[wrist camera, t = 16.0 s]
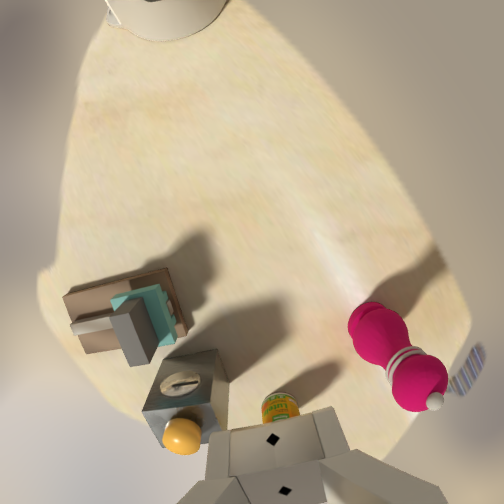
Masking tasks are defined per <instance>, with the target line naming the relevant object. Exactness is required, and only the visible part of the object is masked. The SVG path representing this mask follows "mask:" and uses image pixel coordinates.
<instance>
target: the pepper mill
mask: <svg viewBox="0 0 504 504" xmlns="http://www.w3.org/2000/svg"><path fill="white" fill-rule="evenodd" d="M348 332H349V334H350V336H351V337H352V339H353V345H354V348H355V350H356V351H357V353H358V354H359V355H360V356H361V357H362V358H363V359H364V360H366V361H368V362H369V363H372V364H375V365H380V366H382V367H383V368H384V369H385V370H386V378H387V380H388V382H389V383H390V385H391V386H392V394H393V396H394V399H395V400H396V402H397V403H398V404H399V405H400V406H401V407H402V408H403V409H406V410H408V411H412V412H420V411H425V410H427V409H430V410H433V411H434V410H438V409H439V408H441V407H442V405H443V403H444V398H443V395H444V393H445V391H446V389H447V385H448V373H447V370H446V368H445V366H444V365H443V363H442V362H441V361H440V360H439V359H438V358H436V357H434V356H431V355H427V354H426V353H425V352H424V351H423V350H422V349H421V348H419V347H416V346H412V345H411V343H410V341H409V335H408V329H407V327H406V324H405V322H404V321H403V319H402V318H401V317H400V316H399V315H398V314H397V313H396V312H395V311H392V310H390V309H386V308H385V307H384V306H383V305H382V304H380V303H377V302H368V303H365V304H363V305H361V306H359V307H358V308H357V309H356V310H355V311H354V312H353V313H352V315H351V316H350V319H349V322H348Z"/></svg>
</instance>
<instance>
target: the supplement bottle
mask: <svg viewBox="0 0 504 504" xmlns="http://www.w3.org/2000/svg"><path fill="white" fill-rule="evenodd" d="M299 415H300V413H299V409H298V405H297V401H296V399H295V398H294V397H293V396H292V395H290V394H287V393H281V392H280V393H274V394H271V395H270V396H268V397H267V398H266V399H265V400H264V401H263V403H262V419H263V424H265V423H270V422H275V421H279V420H283V419H287V418H291V417H295V416H299Z"/></svg>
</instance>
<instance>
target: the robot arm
mask: <svg viewBox="0 0 504 504" xmlns="http://www.w3.org/2000/svg"><path fill="white" fill-rule="evenodd" d="M105 1H106V3H107V5H108V10H107V18H106V20H107V23H108V24H109V26H111V27H115V28H124V29H127V30H129V31H130V32H132V33H133V34H135V35H136V36H138V37H140V38H143V39H146V40H151V41H171V40H176V39H181V38H184V37H187V36H190V35H192V34H194V33H196V32H198V31H200V30H201V29H203V28H205V27H206V26H207V25H209V24H210V23H211V22H212V21H213V20H214V19H215V18H216V17H217V16H218V14H219V13H220V12H221V10H222V8H223V6H224V4H225V2H226V1H227V0H105ZM324 502H327V503H328V504H448V502H447V500H446V498H445V497H444V495H443V494H442V492H441V490H440V488H439V487H438V486H436V485H434V484H431V483H429V482H426V481H424V480H421V479H419V478H417V477H414V476H412V475H410V474H408V473H406V472H403V471H401V470H399V469H397V468H395V467H393V466H390V465H388V464H386V463H384V462H382V461H380V460H378V459H376V458H374V457H372V456H370V455H368V454H366V453H364V452H362V451H360V450H358V449H355V450H351V451H350V448H349V446H348V443H347V441H346V438H345V435H344V433H343V430H342V428H341V425H340V423H339V420H338V418H337V415H336V413H335V410H334V408H333V407H332V406H330V407H327V408H323V409H320V410H316V411H313V412H312V413H307V414H303V415H299V416H295V417H291V418H287V419H283V420H279V421H275V422H270V423H265V424H260V425H254V426H248V427H242V428H236V429H232V430H225V431H217V432H212V433H211V435H210V437H209V446H208V455H207V465H206V473H205V480H202V481H198V482H197V483H196V484H195V485H194V486H193V487H192V488H191V489H190V490H189V492H188V493H187V494H186V495H185V496H184V497H183V498H182V499H181V500H180V501H179V502H178V503H177V504H319V503H324Z"/></svg>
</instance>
